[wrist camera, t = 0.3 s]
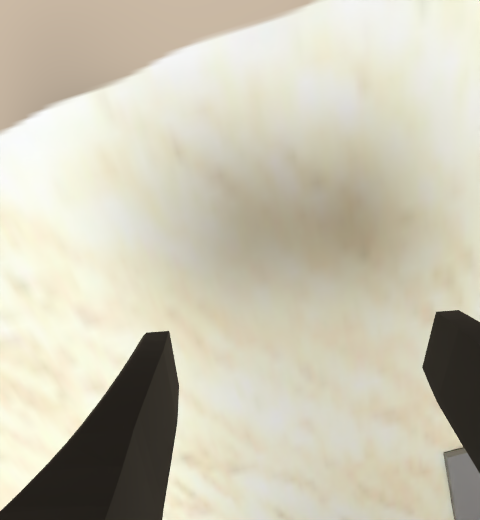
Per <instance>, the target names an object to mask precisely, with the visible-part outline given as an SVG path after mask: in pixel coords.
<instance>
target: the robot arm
mask: <svg viewBox="0 0 480 520" xmlns="http://www.w3.org/2000/svg"><path fill="white" fill-rule="evenodd" d="M423 370H424V372H425V375H426V377H427V380H428V382H429V385H430V387H431V389H432V391H433V394H434V396H435V398H436V400H437V402H438V404H439V406H440V408H441V409H442V411H443V413H444V415H445V416H446V418H447V420H448V421H449V423H450V425H451V426H452V428H453V430H454V432H455V433H456V435H457V437H458V438H459V440H460V442H461V443H462V445H463V447H464V448H465V450H466V452H467V453H468V455H469V457H470V458H471V460H472V462H473V463H474V465H475V467H476V468H477V470H478V472H479V473H480V322H478V321H476V320H475V319H473V318H471V317H470V316H468V315H466V314H464V313H463V312H461V311H459V310H455V311H441V312H436V315H435V319H434V323H433V327H432V331H431V335H430V339H429V343H428V347H427V351H426V355H425V359H424V363H423ZM178 396H179V383H178V378H177V372H176V366H175V361H174V355H173V349H172V344H171V338H170V333H169V331H164V332H151V333H146V334H145V335H144V336H143V337H142V339H141V340H140V342H139V344H138V345H137V347H136V349H135V350H134V352H133V354H132V355H131V357H130V358H129V360H128V361H127V363H126V364H125V366H124V368H123V369H122V371H121V372H120V374H119V375H118V376H117V378H116V379H115V381H114V382H113V384H112V385H111V386H110V388H109V389H108V391H107V392H106V394H105V395H104V396H103V398H102V399H101V400H100V402H99V403H98V404H97V406H96V407H95V408H94V409H93V411H92V412H91V413H90V415H89V416H88V417H87V418H86V420H85V421H84V422H83V424H82V425H81V426H80V427H79V429H78V430H77V431H76V432H75V433H74V435H73V436H72V437H71V438H70V439H69V441H68V442H67V443H66V444H65V445H64V446H63V447H62V449H61V450H60V451H59V452H58V453H57V454H56V455H55V456H54V457H53V459H52V460H51V461H50V462H49V463H48V464H47V465H46V466H45V467H44V468H43V469H42V470H41V471H40V472H39V473H38V474H37V475H36V476H35V477H34V479H33V480H32V481H31V482H30V483H29V484H28V485H27V486H26V487H25V488H24V489H23V490H22V491H21V492H20V493H19V494H18V495H17V496H16V497H15V498H14V499H13V500H12V501H11V502H10V503H9V504H7V505H6V506H5V507H4V508H3V509H2V510H1V511H0V520H162V517H163V508H164V502H165V496H166V490H167V484H168V477H169V471H170V465H171V459H172V452H173V446H174V440H175V433H176V427H177V417H178Z"/></svg>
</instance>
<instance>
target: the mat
mask: <svg viewBox="0 0 480 520" xmlns="http://www.w3.org/2000/svg"><path fill="white" fill-rule="evenodd" d="M444 458H445V464H446V470H447V476H448V482H449V488H450V494H451V501H452V507H453V513H454V519H455V520H480V473H479V472H478V470H477V468H476V467H475V465H474V463H473V462H472V460H471V458H470V457H469V455H468V453H467V452H466V450H465V448H462V449H458V450H454V451H450V452H446V453H444Z"/></svg>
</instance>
